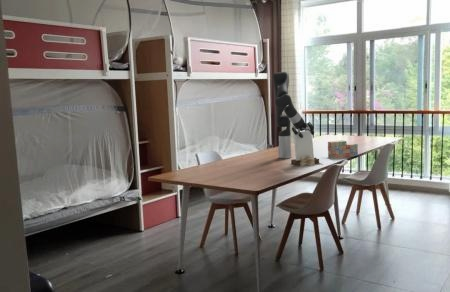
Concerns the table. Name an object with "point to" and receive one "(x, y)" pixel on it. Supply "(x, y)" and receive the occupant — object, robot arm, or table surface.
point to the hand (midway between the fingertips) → (307, 135)
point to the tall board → (303, 145)
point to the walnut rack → (297, 162)
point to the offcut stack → (307, 161)
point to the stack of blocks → (342, 149)
